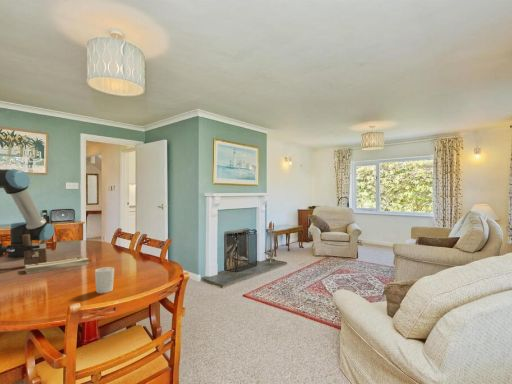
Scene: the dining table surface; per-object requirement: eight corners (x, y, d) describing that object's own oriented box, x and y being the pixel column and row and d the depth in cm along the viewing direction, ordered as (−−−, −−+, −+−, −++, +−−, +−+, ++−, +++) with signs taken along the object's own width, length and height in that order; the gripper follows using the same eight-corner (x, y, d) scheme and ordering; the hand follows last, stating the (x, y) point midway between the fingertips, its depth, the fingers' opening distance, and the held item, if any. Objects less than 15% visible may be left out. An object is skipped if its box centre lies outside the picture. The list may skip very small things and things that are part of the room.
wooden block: (46, 262, 172) (43, 233, 171) (24, 265, 166) (21, 235, 165) (47, 260, 175) (44, 232, 174) (25, 264, 170) (22, 234, 168)
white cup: (99, 288, 133) (99, 267, 133) (116, 287, 134) (117, 266, 134) (91, 294, 125) (91, 271, 125) (109, 293, 126) (109, 271, 126)
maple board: (24, 270, 160) (24, 264, 160) (84, 261, 182) (84, 256, 182) (27, 274, 153) (27, 268, 153) (88, 264, 175) (88, 259, 175)
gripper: (-8, 254, 162) (43, 249, 179) (-6, 260, 150) (47, 253, 167) (-8, 241, 162) (43, 237, 178) (-6, 246, 150) (48, 241, 167)
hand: (45, 245), depth 173 cm, fingers closed on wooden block, 3 cm apart
